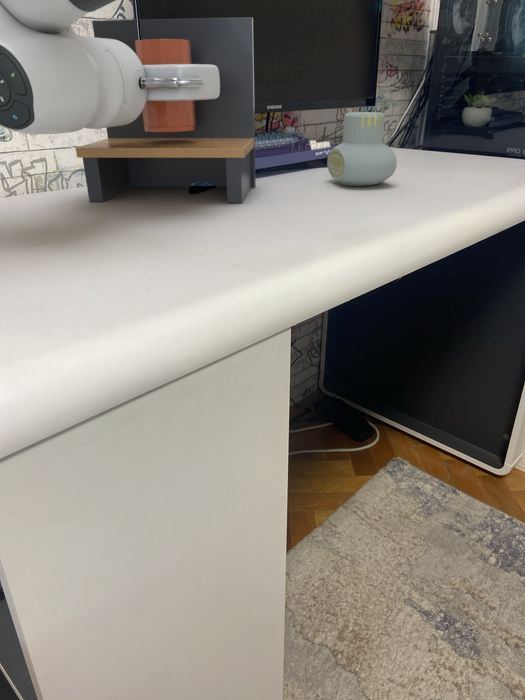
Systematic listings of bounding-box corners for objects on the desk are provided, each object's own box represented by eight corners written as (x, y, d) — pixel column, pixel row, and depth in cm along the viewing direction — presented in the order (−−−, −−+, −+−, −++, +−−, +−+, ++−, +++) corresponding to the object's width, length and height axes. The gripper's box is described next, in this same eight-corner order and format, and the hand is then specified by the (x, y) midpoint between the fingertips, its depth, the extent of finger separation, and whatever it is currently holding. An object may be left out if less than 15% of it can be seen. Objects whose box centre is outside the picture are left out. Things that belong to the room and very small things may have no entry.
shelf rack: (84, 202, 72) (53, 11, 62) (116, 185, 84) (95, 21, 74) (245, 204, 70) (240, 6, 60) (255, 185, 82) (253, 18, 72)
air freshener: (322, 178, 87) (325, 111, 82) (369, 176, 89) (374, 110, 84) (348, 191, 77) (353, 116, 73) (400, 188, 79) (408, 114, 75)
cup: (137, 132, 70) (127, 39, 65) (152, 128, 76) (143, 43, 71) (189, 132, 69) (182, 38, 64) (199, 127, 75) (194, 41, 70)
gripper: (185, 48, 54) (240, 52, 66) (28, 54, 61) (102, 57, 73) (190, 115, 57) (241, 108, 69) (39, 114, 64) (108, 108, 75)
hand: (168, 82), depth 71 cm, fingers closed on cup, 7 cm apart
